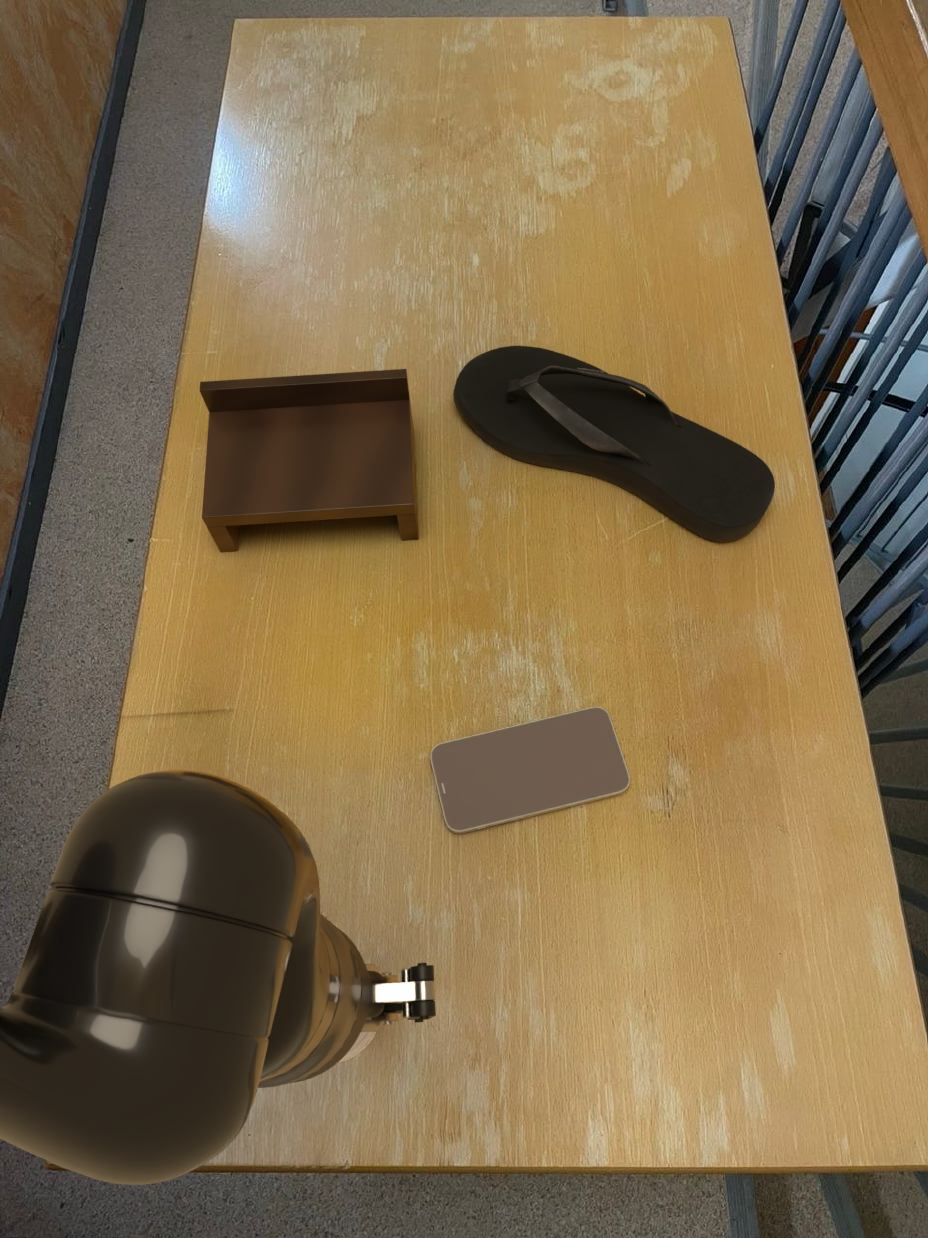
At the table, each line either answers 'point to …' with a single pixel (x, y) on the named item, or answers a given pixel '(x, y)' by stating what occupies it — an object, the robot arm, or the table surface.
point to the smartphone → (528, 769)
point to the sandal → (613, 437)
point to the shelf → (308, 451)
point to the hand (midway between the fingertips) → (329, 1006)
